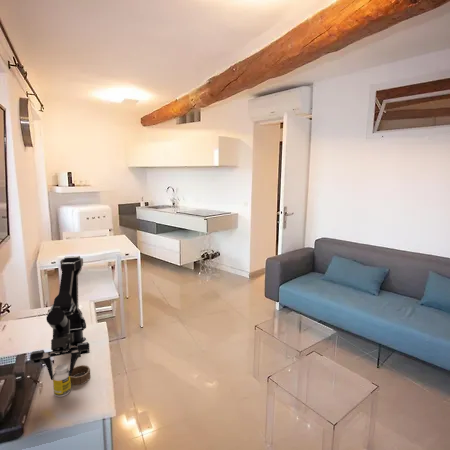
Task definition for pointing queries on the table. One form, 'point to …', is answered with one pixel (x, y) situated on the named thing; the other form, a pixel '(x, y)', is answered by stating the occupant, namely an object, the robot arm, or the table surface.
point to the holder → (82, 378)
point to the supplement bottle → (61, 380)
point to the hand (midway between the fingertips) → (61, 377)
